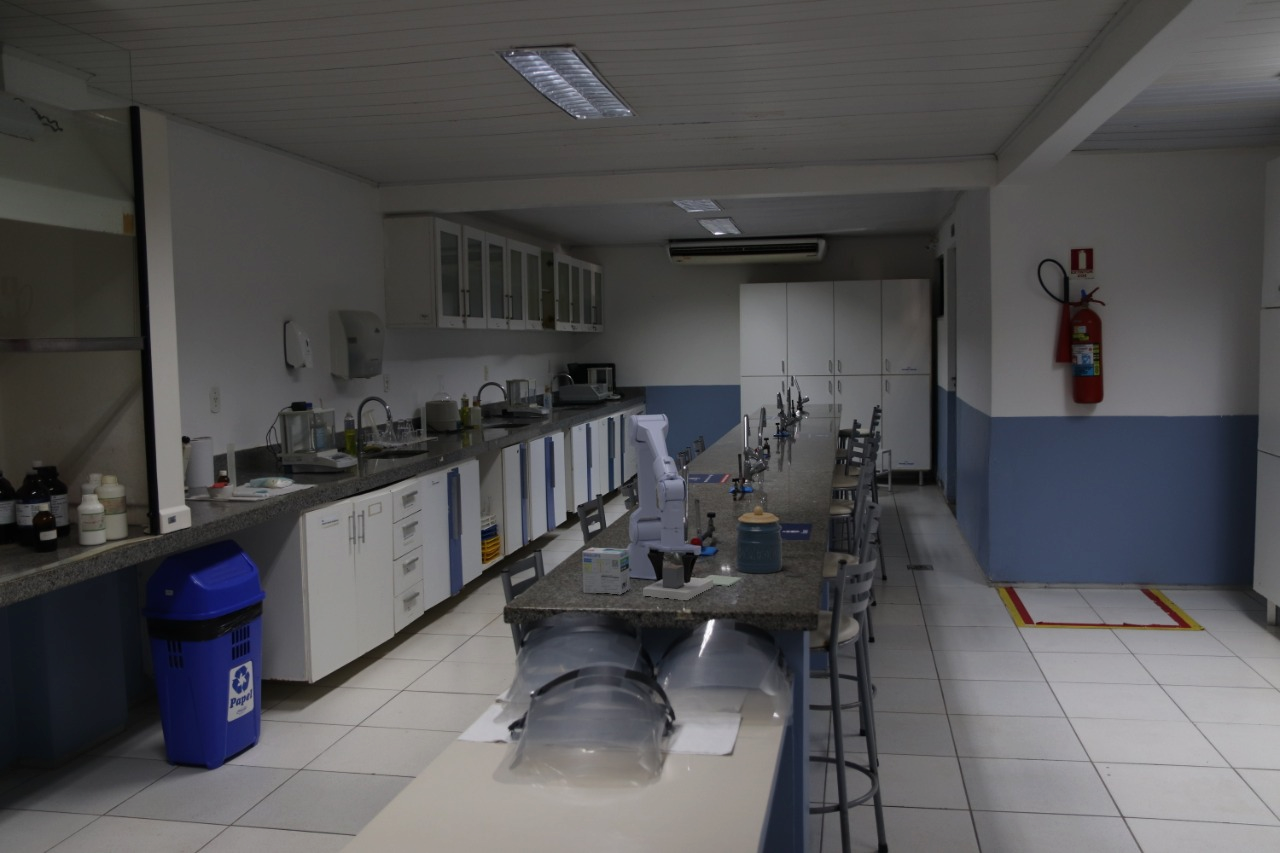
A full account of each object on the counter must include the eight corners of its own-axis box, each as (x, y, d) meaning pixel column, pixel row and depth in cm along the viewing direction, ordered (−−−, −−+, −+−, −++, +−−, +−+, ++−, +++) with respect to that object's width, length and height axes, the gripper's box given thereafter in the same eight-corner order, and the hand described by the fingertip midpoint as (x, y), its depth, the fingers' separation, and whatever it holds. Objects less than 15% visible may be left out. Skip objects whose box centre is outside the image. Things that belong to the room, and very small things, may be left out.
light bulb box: (630, 589, 258) (630, 548, 258) (621, 595, 252) (620, 553, 251) (592, 587, 262) (591, 546, 261) (582, 593, 256) (581, 551, 255)
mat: (696, 583, 264) (696, 581, 264) (710, 576, 272) (710, 574, 272) (728, 586, 260) (728, 584, 260) (741, 579, 268) (741, 577, 268)
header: (643, 596, 251) (642, 588, 251) (671, 582, 265) (671, 575, 265) (686, 600, 246) (686, 592, 245) (713, 587, 260) (713, 579, 260)
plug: (662, 595, 252) (662, 567, 251) (669, 591, 255) (669, 564, 255) (677, 596, 250) (676, 568, 250) (684, 593, 254) (683, 565, 253)
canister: (731, 573, 276) (730, 509, 275) (740, 563, 288) (739, 502, 287) (778, 575, 272) (777, 510, 271) (785, 565, 285) (785, 503, 283)
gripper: (639, 527, 251) (640, 581, 252) (692, 531, 245) (693, 586, 246) (652, 523, 258) (653, 576, 258) (704, 527, 251) (704, 581, 252)
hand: (673, 581), depth 252 cm, fingers open, 7 cm apart
